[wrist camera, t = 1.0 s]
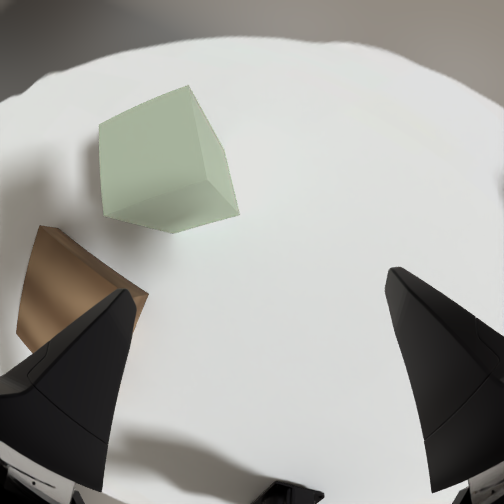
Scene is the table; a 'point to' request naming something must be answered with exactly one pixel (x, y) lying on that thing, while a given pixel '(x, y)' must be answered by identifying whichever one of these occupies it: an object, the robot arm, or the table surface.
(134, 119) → the sage block
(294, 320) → the table surface
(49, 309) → the walnut plinth
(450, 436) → the robot arm
